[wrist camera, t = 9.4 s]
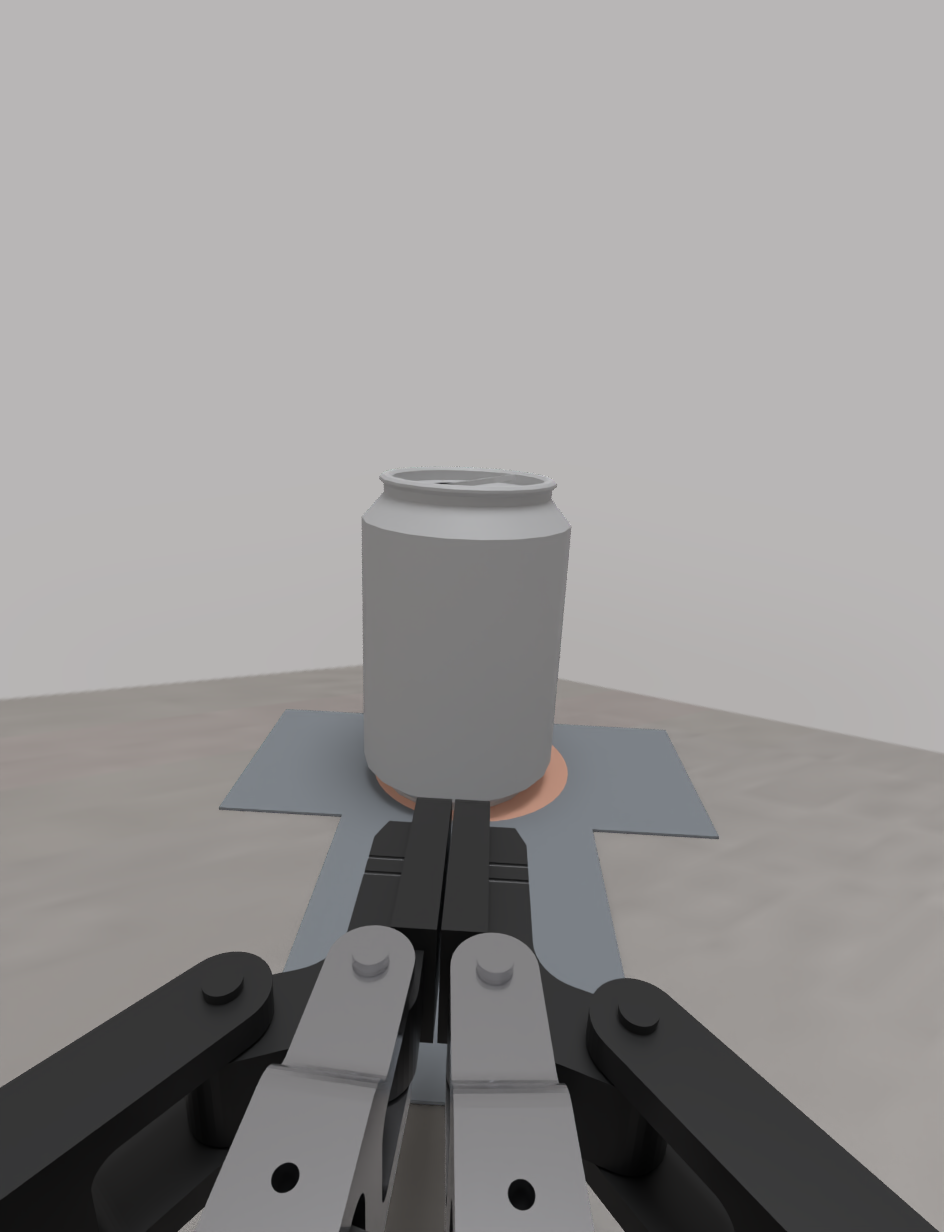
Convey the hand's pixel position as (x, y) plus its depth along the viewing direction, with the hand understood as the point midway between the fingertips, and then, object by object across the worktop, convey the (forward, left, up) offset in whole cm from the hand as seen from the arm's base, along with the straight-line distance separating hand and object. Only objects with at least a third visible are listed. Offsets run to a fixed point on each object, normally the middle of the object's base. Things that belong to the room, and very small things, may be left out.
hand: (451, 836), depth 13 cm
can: (0, -12, -6) cm, 14 cm away
